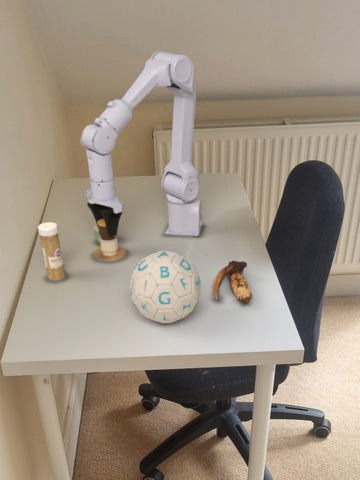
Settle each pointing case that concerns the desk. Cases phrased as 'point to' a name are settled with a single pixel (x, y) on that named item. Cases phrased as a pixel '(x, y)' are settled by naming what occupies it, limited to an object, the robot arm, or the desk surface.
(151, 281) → the puzzle ball
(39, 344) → the desk surface
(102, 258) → the coaster
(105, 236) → the brown pod
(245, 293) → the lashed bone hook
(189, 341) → the desk surface
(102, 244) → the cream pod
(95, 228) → the cylinder
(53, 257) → the sprinkles bottle
